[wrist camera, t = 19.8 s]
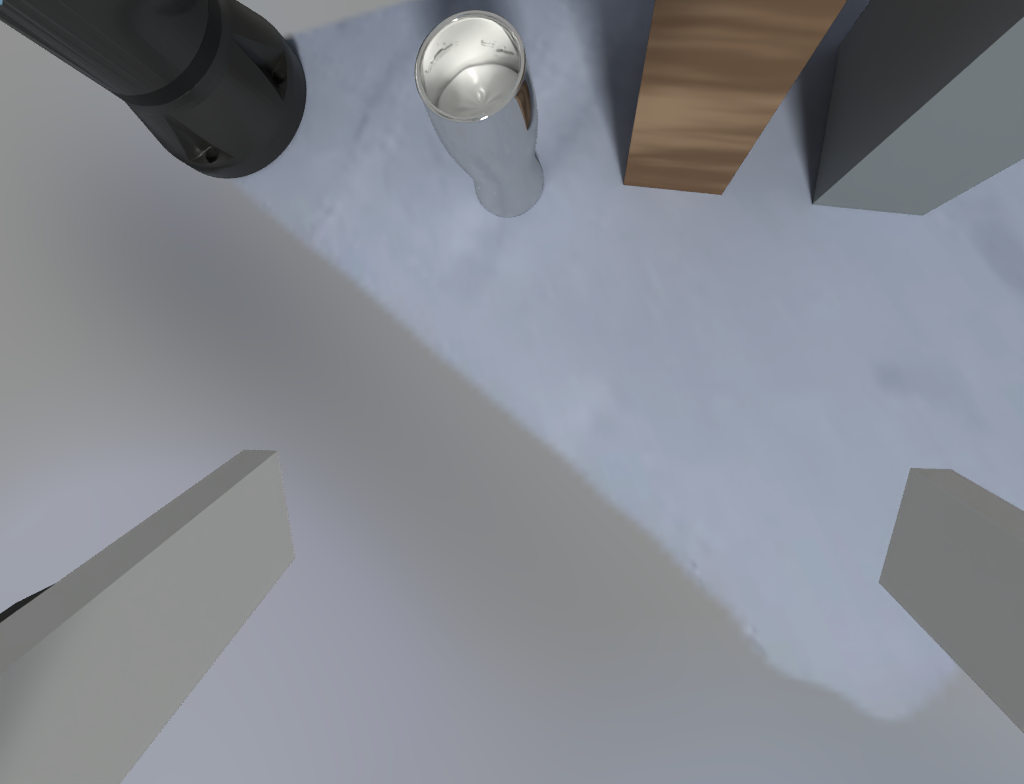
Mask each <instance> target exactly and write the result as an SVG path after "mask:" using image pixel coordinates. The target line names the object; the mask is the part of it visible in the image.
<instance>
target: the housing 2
mask: <svg viewBox="0 0 1024 784" xmlns="http://www.w3.org/2000/svg"><path fill="white" fill-rule="evenodd" d="M1022 159H1024V0H871V1H870V2H869V4H868V5H867V7H866V8H865V10H864V11H863V12H862V14H861V15H860V17H859V18H858V19H857V21H856V22H855V24H854V25H853V27H852V28H851V29H850V31H849V32H848V34H847V35H846V36H845V38H844V39H843V41H842V42H841V44H840V47H839V52H838V58H837V64H836V70H835V76H834V82H833V87H832V93H831V99H830V105H829V111H828V116H827V122H826V128H825V134H824V140H823V145H822V151H821V157H820V163H819V169H818V175H817V180H816V186H815V192H814V198H813V204H816V205H825V206H835V207H845V208H855V209H864V210H874V211H884V212H894V213H903V214H913V215H924V214H926V213H928V212H930V211H931V210H933V209H935V208H937V207H938V206H940V205H942V204H944V203H946V202H947V201H949V200H951V199H953V198H954V197H956V196H958V195H960V194H962V193H963V192H965V191H967V190H969V189H970V188H972V187H974V186H976V185H978V184H979V183H981V182H983V181H985V180H986V179H988V178H990V177H992V176H993V175H995V174H997V173H999V172H1001V171H1002V170H1004V169H1006V168H1008V167H1009V166H1011V165H1013V164H1015V163H1017V162H1018V161H1020V160H1022Z"/></svg>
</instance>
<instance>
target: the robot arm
mask: <svg viewBox="0 0 1024 784" xmlns="http://www.w3.org/2000/svg"><path fill="white" fill-rule="evenodd" d="M0 20H1V21H2V22H4V23H5V24H7V25H9V26H10V27H11V28H13V29H15V30H16V31H18V32H19V33H21V34H22V35H24V36H25V37H27V38H29V39H30V40H32V41H33V42H35V43H36V44H38V45H39V46H41V47H42V48H44V49H45V50H47V51H49V52H50V53H51V54H53V55H55V56H56V57H58V58H59V59H61V60H62V61H64V62H65V63H67V64H68V65H70V66H72V67H73V68H74V69H76V70H78V71H79V72H81V73H82V74H84V75H85V76H87V77H88V78H90V79H91V80H93V81H95V82H96V83H98V84H99V85H101V86H102V87H104V88H105V89H107V90H109V91H111V92H112V93H113V94H115V95H116V96H118V97H119V98H121V99H122V100H123V101H125V103H127V105H128V106H129V107H130V108H131V109H132V111H133V112H134V113H135V114H136V115H137V116H138V118H139V119H140V120H141V121H142V122H143V123H144V125H145V126H146V127H147V128H148V129H149V130H150V132H151V133H152V134H153V135H154V136H155V137H156V139H157V140H158V141H159V142H160V143H161V144H162V146H163V147H164V148H165V149H166V150H167V151H168V152H170V153H171V154H172V155H173V156H174V157H176V158H177V159H179V160H180V161H182V162H184V163H185V164H187V165H189V166H190V167H192V168H194V169H195V170H197V171H199V172H201V173H203V174H205V175H208V176H212V177H216V178H238V177H243V176H246V175H249V174H252V173H254V172H257V171H259V170H261V169H262V168H264V167H266V166H267V165H269V164H270V163H271V162H273V161H274V160H275V159H276V158H277V157H278V156H279V155H280V154H281V153H282V152H283V151H284V150H285V149H286V147H287V146H288V145H289V143H290V142H291V140H292V139H293V137H294V135H295V133H296V131H297V129H298V127H299V125H300V122H301V119H302V116H303V112H304V107H305V99H306V86H305V78H304V73H303V70H302V67H301V64H300V61H299V59H298V57H297V55H296V54H295V52H294V51H293V49H292V48H291V46H290V45H289V44H288V43H287V42H286V40H285V39H284V38H283V37H282V36H281V34H280V33H279V32H278V31H277V29H275V27H274V26H273V25H271V24H270V23H269V22H268V21H267V20H266V19H264V18H263V17H262V16H260V15H258V14H257V13H256V12H254V11H252V10H251V9H249V8H248V7H246V6H244V5H243V4H241V3H240V2H238V1H236V0H0ZM294 559H295V553H294V547H293V541H292V535H291V529H290V523H289V516H288V510H287V504H286V498H285V492H284V486H283V480H282V474H281V467H280V462H279V455H278V451H267V450H266V451H265V450H264V451H263V450H243V451H242V452H240V453H239V454H237V455H236V456H235V457H233V458H232V459H230V460H229V461H228V462H226V463H225V464H223V465H222V466H221V467H219V468H218V469H216V470H215V471H213V472H212V473H211V474H209V475H208V476H206V477H205V478H204V479H202V480H201V481H200V482H198V483H197V484H195V485H194V486H192V487H191V488H189V489H188V490H187V491H185V492H184V493H182V494H181V495H180V496H178V497H177V498H175V499H174V500H173V501H171V502H170V503H168V504H167V505H166V506H164V507H163V508H161V509H160V510H158V511H157V512H156V513H154V514H153V515H151V516H150V517H149V518H147V519H146V520H145V521H143V522H142V523H140V524H139V525H137V526H136V527H135V528H133V529H132V530H130V531H129V532H128V533H126V534H125V535H123V536H122V537H120V538H119V539H118V540H116V541H115V542H114V543H112V544H111V545H109V546H108V547H106V548H105V549H104V550H102V551H101V552H99V553H98V554H97V555H95V556H94V557H92V558H91V559H90V560H88V561H87V562H85V563H84V564H82V565H81V566H80V567H78V568H77V569H75V570H74V571H73V572H71V573H70V574H68V575H67V576H66V577H64V578H63V579H61V580H60V581H59V582H57V583H55V584H53V585H51V586H49V587H47V588H45V589H43V590H41V591H39V592H37V593H35V594H33V595H31V596H29V597H27V598H25V599H23V600H21V601H19V602H17V603H15V604H14V605H12V606H11V607H9V608H8V609H7V610H5V611H4V612H2V613H1V614H0V784H120V783H121V782H122V780H123V779H124V778H125V777H126V775H127V774H128V773H129V771H130V770H131V769H132V768H133V766H134V765H135V764H136V762H137V761H138V760H139V759H140V757H141V756H142V755H143V753H144V752H145V751H146V750H147V748H148V747H149V746H150V744H151V743H152V742H153V741H154V739H155V738H156V737H157V735H158V734H159V733H160V732H161V730H162V729H163V728H164V726H165V725H166V724H167V723H168V721H169V720H170V719H171V717H172V716H173V715H174V714H175V712H176V711H177V709H178V708H179V707H180V706H181V705H182V703H183V702H184V700H185V699H186V698H187V697H188V695H189V694H190V693H191V692H192V690H193V689H194V688H195V686H196V685H197V684H198V683H199V681H200V680H201V679H202V677H203V676H204V675H205V674H206V672H207V671H208V670H209V668H210V667H211V666H212V665H213V663H214V662H215V661H216V659H217V658H218V657H219V655H220V654H221V653H222V652H223V650H224V649H225V648H226V646H227V645H228V644H229V643H230V641H231V640H232V639H233V638H234V636H235V635H236V634H237V632H238V631H239V630H240V629H241V627H242V626H243V625H244V623H245V622H246V621H247V619H248V618H249V617H250V616H251V614H252V613H253V612H254V611H255V609H256V608H257V607H258V605H259V604H260V603H261V602H262V600H263V599H264V598H265V596H266V595H267V594H268V592H269V591H270V590H271V589H272V587H273V586H274V585H275V583H276V582H277V581H278V580H279V578H280V577H281V576H282V574H283V573H284V572H285V571H286V569H287V568H288V567H289V565H290V564H291V563H292V562H293V560H294ZM879 583H880V584H881V585H882V586H883V587H884V588H885V589H886V590H887V591H888V592H889V594H890V595H891V596H892V597H893V598H894V599H895V600H896V601H897V602H898V603H899V604H900V605H901V606H902V607H903V608H904V609H905V610H906V611H907V612H908V613H909V614H910V615H911V616H912V617H913V619H914V620H915V621H916V622H917V623H918V624H919V625H920V626H921V627H922V628H923V629H924V630H925V631H926V632H927V633H928V634H929V635H930V636H931V637H932V638H933V639H934V640H935V641H936V642H937V644H938V645H939V646H940V647H941V648H942V649H943V650H944V651H945V652H946V653H947V654H948V655H949V656H950V657H951V658H952V659H953V660H954V661H955V662H956V663H957V664H958V665H959V666H960V667H961V669H962V670H963V671H964V672H965V673H966V674H967V675H968V676H969V677H970V678H971V679H972V680H973V681H974V682H975V683H976V684H977V685H978V686H979V687H980V688H981V689H982V690H983V691H984V692H985V694H986V695H988V697H989V698H990V699H991V700H992V701H993V702H994V703H995V704H996V705H997V706H998V707H999V708H1000V709H1001V710H1002V711H1003V712H1004V713H1005V714H1006V715H1007V716H1008V717H1009V718H1010V719H1011V721H1012V722H1013V723H1014V724H1015V725H1016V726H1017V727H1018V728H1019V729H1020V730H1021V731H1022V732H1023V733H1024V511H1022V510H1021V509H1019V508H1017V507H1015V506H1014V505H1012V504H1010V503H1008V502H1007V501H1005V500H1003V499H1001V498H1000V497H998V496H996V495H995V494H993V493H991V492H989V491H988V490H986V489H984V488H982V487H981V486H979V485H977V484H975V483H974V482H972V481H970V480H969V479H967V478H965V477H963V476H962V475H960V474H958V473H956V472H955V471H953V470H951V469H921V468H911V469H910V472H909V476H908V479H907V483H906V487H905V490H904V494H903V497H902V501H901V505H900V508H899V512H898V515H897V519H896V523H895V526H894V530H893V533H892V537H891V541H890V544H889V548H888V551H887V555H886V559H885V562H884V566H883V569H882V573H881V576H880V580H879Z"/></svg>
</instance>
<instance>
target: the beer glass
mask: <svg viewBox="0 0 1024 784" xmlns="http://www.w3.org/2000/svg"><path fill="white" fill-rule="evenodd" d="M415 82H416V86H417V90H418V93H419V95H420V97H421V99H422V100H423V103H424V106H425V108H426V111H427V113H428V116H429V118H430V121H431V123H432V125H433V127H434V129H435V131H436V134H437V136H438V138H439V139H440V141H441V143H442V144H443V146H444V147H445V149H446V151H447V152H448V153H449V155H450V156H451V157H452V158H453V159H454V161H455V162H456V163H457V164H458V165H459V166H460V167H461V168H462V169H463V170H464V171H465V172H466V173H467V174H468V175H469V176H470V177H471V178H472V179H473V180H474V186H475V192H476V195H477V198H478V200H479V202H480V204H481V205H482V206H483V207H484V208H485V209H486V210H487V211H488V212H490V213H491V214H493V215H496V216H499V217H505V218H510V217H516V216H519V215H522V214H524V213H525V212H527V211H528V210H530V209H531V208H532V207H533V206H534V205H535V204H536V202H537V201H538V199H539V198H540V196H541V193H542V190H543V185H544V176H543V171H542V168H541V166H540V164H539V162H538V160H537V158H536V157H535V148H536V140H537V130H538V110H537V100H536V94H535V89H534V84H533V80H532V76H531V72H530V68H529V65H528V62H527V59H526V55H525V49H524V45H523V42H522V40H521V38H520V36H519V34H518V32H517V31H516V29H515V28H514V27H513V26H512V25H511V24H510V23H509V22H508V21H507V20H505V19H504V18H502V17H501V16H499V15H496V14H494V13H491V12H487V11H481V10H471V11H465V12H460V13H457V14H455V15H452V16H450V17H448V18H447V19H445V20H443V21H442V22H440V23H439V24H438V25H437V26H436V27H435V28H434V29H433V30H432V31H431V32H430V33H429V34H428V35H427V37H426V38H425V40H424V41H423V43H422V45H421V47H420V49H419V52H418V55H417V58H416V63H415Z"/></svg>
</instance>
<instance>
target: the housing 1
mask: <svg viewBox="0 0 1024 784" xmlns="http://www.w3.org/2000/svg"><path fill="white" fill-rule="evenodd" d="M846 1H847V0H655V5H654V11H653V16H652V22H651V28H650V34H649V40H648V45H647V51H646V57H645V63H644V68H643V74H642V80H641V86H640V92H639V97H638V103H637V109H636V115H635V121H634V126H633V132H632V138H631V144H630V149H629V155H628V161H627V167H626V173H625V178H624V184H623V185H631V186H640V187H650V188H660V189H670V190H680V191H689V192H699V193H709V194H719V195H722V193H723V192H724V190H725V189H726V187H727V186H728V184H729V182H730V181H731V179H732V178H733V176H734V175H735V173H736V172H737V170H738V169H739V167H740V165H741V164H742V162H743V161H744V159H745V158H746V156H747V155H748V153H749V152H750V150H751V148H752V147H753V145H754V144H755V142H756V141H757V139H758V138H759V136H760V135H761V133H762V131H763V130H764V128H765V127H766V125H767V124H768V122H769V121H770V119H771V117H772V116H773V114H774V113H775V111H776V110H777V108H778V107H779V105H780V104H781V102H782V100H783V99H784V97H785V96H786V94H787V93H788V91H789V90H790V88H791V87H792V85H793V83H794V82H795V80H796V79H797V77H798V76H799V74H800V73H801V71H802V70H803V68H804V66H805V65H806V63H807V62H808V60H809V59H810V57H811V56H812V54H813V53H814V51H815V49H816V48H817V46H818V45H819V43H820V42H821V40H822V39H823V37H824V36H825V34H826V32H827V31H828V29H829V28H830V26H831V25H832V23H833V22H834V20H835V19H836V17H837V15H838V14H839V12H840V11H841V9H842V8H843V6H844V5H845V3H846Z"/></svg>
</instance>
